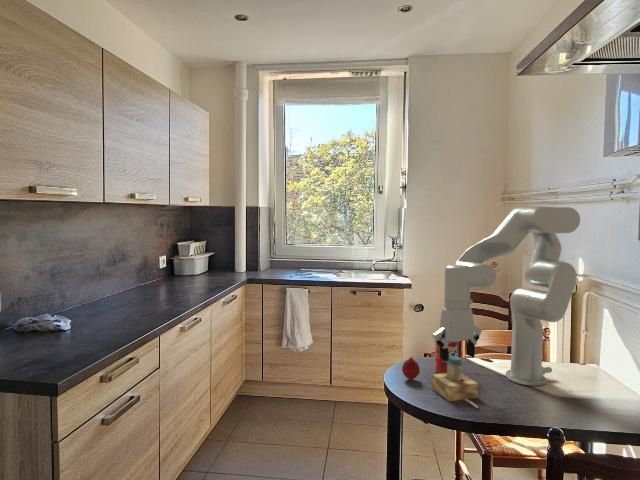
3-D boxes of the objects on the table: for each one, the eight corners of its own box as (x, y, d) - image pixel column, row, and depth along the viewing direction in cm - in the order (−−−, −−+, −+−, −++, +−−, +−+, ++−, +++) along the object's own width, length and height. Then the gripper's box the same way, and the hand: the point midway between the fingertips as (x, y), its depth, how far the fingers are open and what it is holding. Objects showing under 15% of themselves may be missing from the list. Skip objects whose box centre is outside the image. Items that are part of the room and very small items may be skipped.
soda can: (435, 367, 154) (437, 327, 153) (458, 370, 151) (459, 329, 150) (433, 374, 147) (434, 332, 146) (456, 377, 144) (458, 335, 143)
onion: (419, 384, 138) (420, 360, 137) (401, 382, 139) (402, 359, 139) (419, 377, 144) (419, 354, 143) (402, 376, 145) (402, 353, 144)
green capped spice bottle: (454, 389, 134) (455, 356, 133) (460, 393, 131) (461, 359, 130) (446, 391, 133) (447, 357, 132) (452, 394, 130) (453, 360, 129)
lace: (464, 400, 125) (464, 398, 125) (467, 400, 126) (467, 398, 126) (476, 408, 120) (476, 406, 120) (478, 408, 121) (479, 405, 121)
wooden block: (457, 384, 138) (458, 371, 137) (477, 397, 128) (478, 383, 128) (431, 388, 135) (431, 374, 134) (449, 401, 125) (450, 386, 125)
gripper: (472, 299, 136) (472, 350, 137) (426, 304, 131) (426, 357, 132) (488, 304, 129) (488, 358, 130) (440, 309, 124) (440, 365, 125)
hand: (457, 357), depth 131 cm, fingers open, 9 cm apart
